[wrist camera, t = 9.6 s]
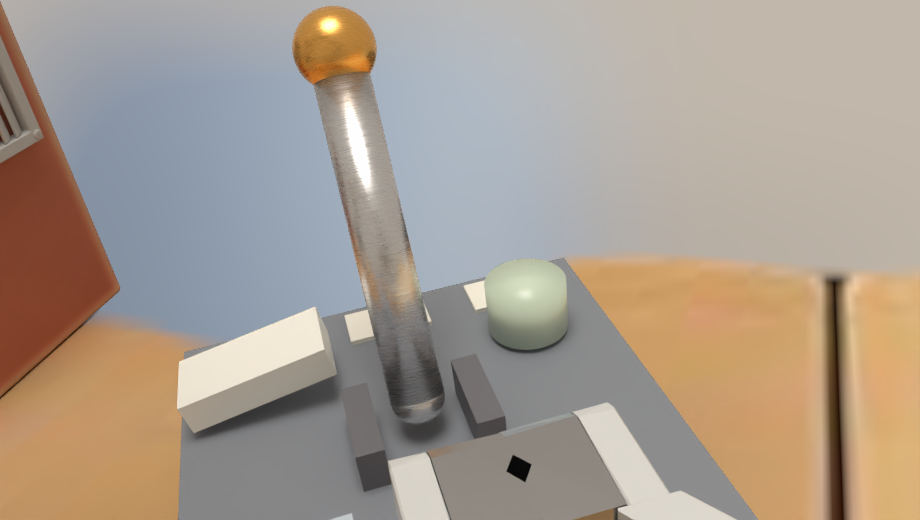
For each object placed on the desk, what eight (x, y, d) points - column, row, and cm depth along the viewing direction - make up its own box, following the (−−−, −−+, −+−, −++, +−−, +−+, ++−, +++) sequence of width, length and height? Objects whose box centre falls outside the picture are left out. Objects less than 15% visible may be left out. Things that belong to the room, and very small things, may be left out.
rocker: (337, 374, 27) (324, 349, 27) (193, 433, 27) (176, 409, 26) (327, 330, 29) (315, 306, 29) (194, 384, 29) (178, 361, 28)
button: (580, 337, 29) (578, 293, 28) (502, 358, 29) (498, 314, 28) (551, 293, 32) (548, 251, 31) (479, 312, 31) (474, 269, 30)
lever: (469, 422, 25) (368, -12, 24) (388, 445, 24) (281, 4, 23) (455, 404, 27) (363, 11, 26) (381, 424, 27) (284, 26, 26)
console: (766, 686, 24) (796, 524, 20) (237, 875, 22) (147, 734, 17) (568, 364, 37) (562, 227, 33) (225, 458, 35) (172, 322, 31)
